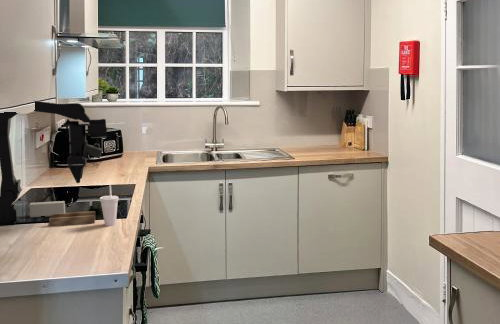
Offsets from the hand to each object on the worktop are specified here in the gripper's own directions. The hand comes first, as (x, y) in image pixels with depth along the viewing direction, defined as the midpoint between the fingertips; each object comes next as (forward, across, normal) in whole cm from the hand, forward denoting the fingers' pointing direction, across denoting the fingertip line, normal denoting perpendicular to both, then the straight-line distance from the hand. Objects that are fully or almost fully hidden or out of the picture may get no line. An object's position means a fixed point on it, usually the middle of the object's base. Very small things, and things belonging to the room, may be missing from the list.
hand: (79, 180), depth 195 cm
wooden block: (+14, -6, +2) cm, 15 cm away
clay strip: (+14, +7, +12) cm, 20 cm away
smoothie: (+14, -13, -11) cm, 22 cm away
